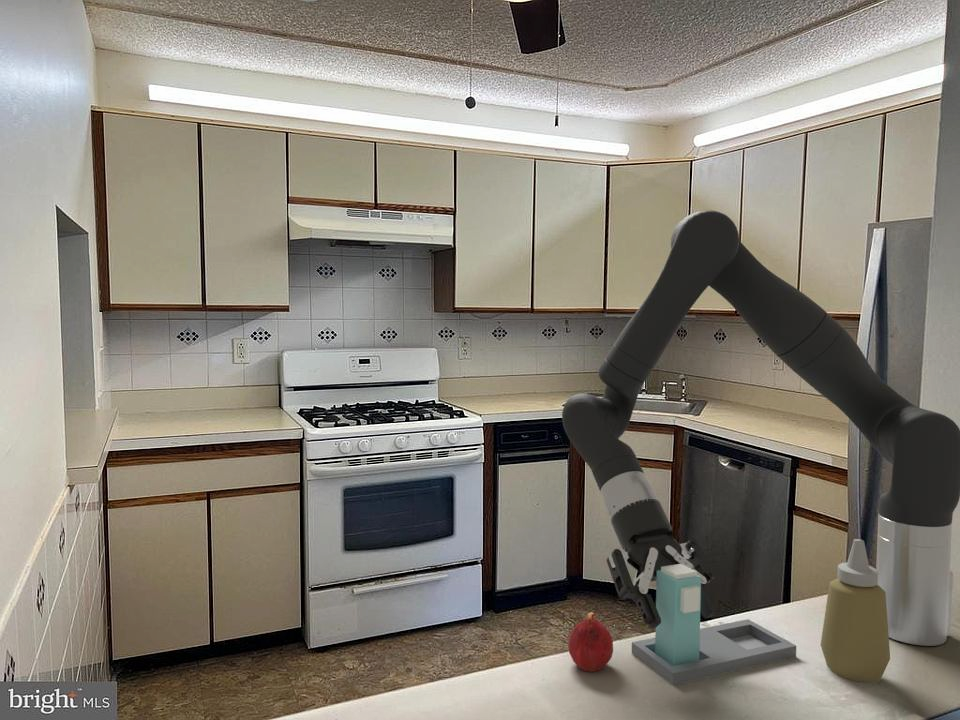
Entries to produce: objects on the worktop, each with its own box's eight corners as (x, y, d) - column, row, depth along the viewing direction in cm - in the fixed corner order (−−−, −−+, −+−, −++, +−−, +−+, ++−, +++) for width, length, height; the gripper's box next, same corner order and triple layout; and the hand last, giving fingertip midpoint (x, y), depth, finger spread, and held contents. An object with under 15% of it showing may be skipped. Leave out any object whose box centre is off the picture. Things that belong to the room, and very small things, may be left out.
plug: (679, 653, 97) (681, 562, 96) (703, 669, 93) (705, 574, 92) (655, 658, 96) (656, 566, 95) (677, 675, 91) (679, 578, 90)
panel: (747, 635, 105) (748, 619, 105) (795, 663, 96) (796, 645, 96) (631, 660, 97) (631, 642, 97) (672, 692, 89) (673, 673, 89)
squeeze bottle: (904, 691, 89) (910, 550, 88) (841, 694, 89) (846, 551, 88) (864, 660, 97) (869, 530, 96) (807, 662, 97) (811, 531, 96)
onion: (612, 686, 90) (613, 625, 90) (566, 682, 91) (567, 620, 91) (613, 664, 96) (614, 606, 95) (569, 660, 97) (570, 602, 97)
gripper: (601, 501, 98) (650, 617, 88) (687, 492, 103) (742, 600, 93) (581, 529, 103) (625, 641, 93) (664, 519, 108) (713, 623, 98)
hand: (683, 620), depth 93 cm, fingers open, 8 cm apart
